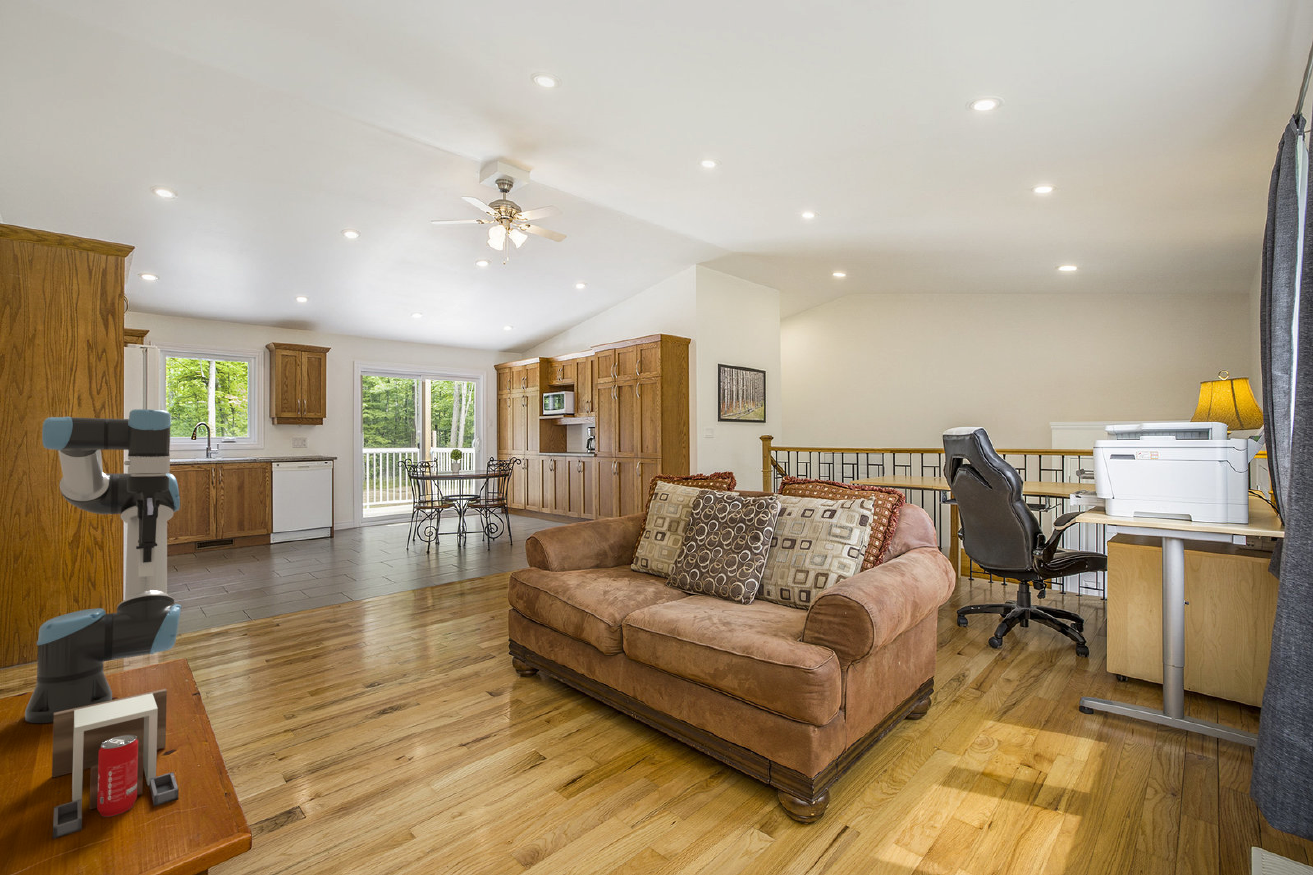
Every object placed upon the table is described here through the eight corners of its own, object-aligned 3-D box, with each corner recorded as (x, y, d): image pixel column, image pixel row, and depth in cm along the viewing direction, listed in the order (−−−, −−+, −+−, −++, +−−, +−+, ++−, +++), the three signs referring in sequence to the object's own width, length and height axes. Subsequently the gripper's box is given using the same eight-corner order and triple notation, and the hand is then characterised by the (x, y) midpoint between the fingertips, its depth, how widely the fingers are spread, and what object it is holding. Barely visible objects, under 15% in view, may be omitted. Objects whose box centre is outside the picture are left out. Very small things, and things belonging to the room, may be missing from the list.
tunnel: (72, 785, 112) (74, 710, 113) (150, 763, 120) (152, 693, 121) (72, 808, 105) (74, 727, 106) (155, 783, 113) (157, 708, 114)
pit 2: (149, 788, 112) (149, 778, 112) (172, 781, 114) (173, 771, 114) (154, 806, 106) (154, 796, 106) (178, 798, 108) (178, 788, 108)
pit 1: (53, 817, 103) (54, 807, 103) (81, 809, 105) (81, 799, 105) (52, 839, 97) (53, 828, 97) (81, 829, 99) (82, 819, 99)
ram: (52, 774, 116) (53, 712, 116) (164, 744, 128) (166, 688, 128) (49, 821, 101) (51, 750, 101) (176, 782, 113) (178, 719, 113)
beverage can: (112, 820, 102) (114, 750, 102) (89, 816, 103) (91, 746, 103) (144, 802, 107) (145, 735, 107) (121, 798, 108) (123, 732, 108)
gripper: (125, 474, 141) (122, 573, 140) (129, 476, 132) (126, 582, 131) (166, 473, 146) (163, 569, 146) (172, 475, 137) (170, 577, 137)
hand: (146, 575), depth 139 cm, fingers closed
